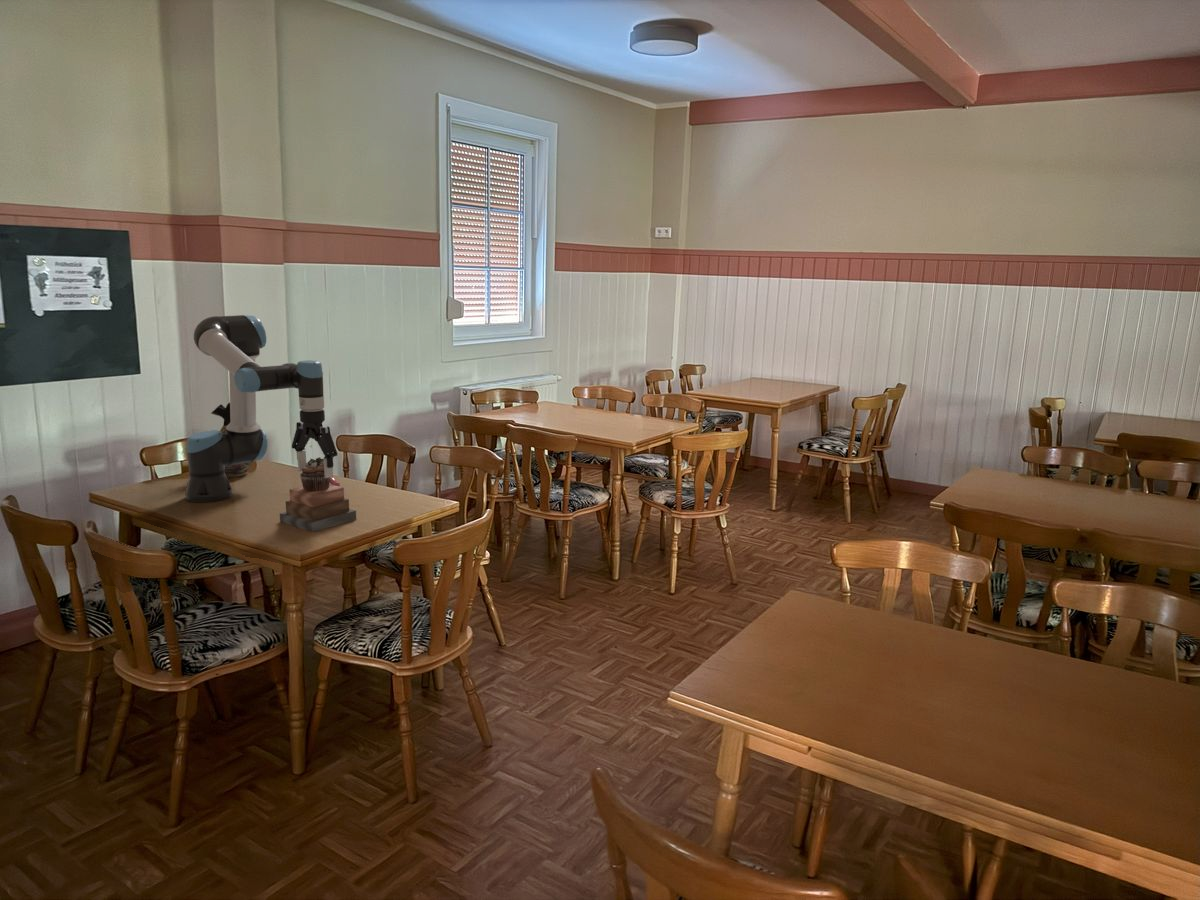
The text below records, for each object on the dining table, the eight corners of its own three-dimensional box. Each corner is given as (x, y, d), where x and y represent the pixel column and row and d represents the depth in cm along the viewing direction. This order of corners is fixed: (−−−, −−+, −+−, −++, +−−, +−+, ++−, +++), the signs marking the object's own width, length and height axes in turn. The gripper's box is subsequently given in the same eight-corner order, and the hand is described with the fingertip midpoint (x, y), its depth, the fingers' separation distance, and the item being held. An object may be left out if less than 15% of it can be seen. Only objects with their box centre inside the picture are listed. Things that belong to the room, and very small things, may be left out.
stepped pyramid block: (280, 522, 269) (277, 489, 267) (323, 510, 283) (322, 479, 280) (312, 532, 260) (310, 498, 257) (356, 519, 273) (354, 487, 271)
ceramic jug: (208, 480, 319) (201, 404, 312) (217, 471, 333) (211, 397, 327) (254, 479, 322) (248, 403, 316) (262, 469, 337) (256, 397, 330)
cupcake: (319, 482, 275) (317, 453, 273) (338, 487, 270) (336, 457, 268) (294, 489, 268) (292, 459, 265) (313, 493, 262) (311, 463, 260)
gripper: (277, 406, 267) (282, 469, 272) (327, 415, 253) (330, 482, 258) (297, 403, 273) (301, 465, 278) (347, 412, 259) (349, 477, 264)
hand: (315, 473), depth 268 cm, fingers open, 13 cm apart
